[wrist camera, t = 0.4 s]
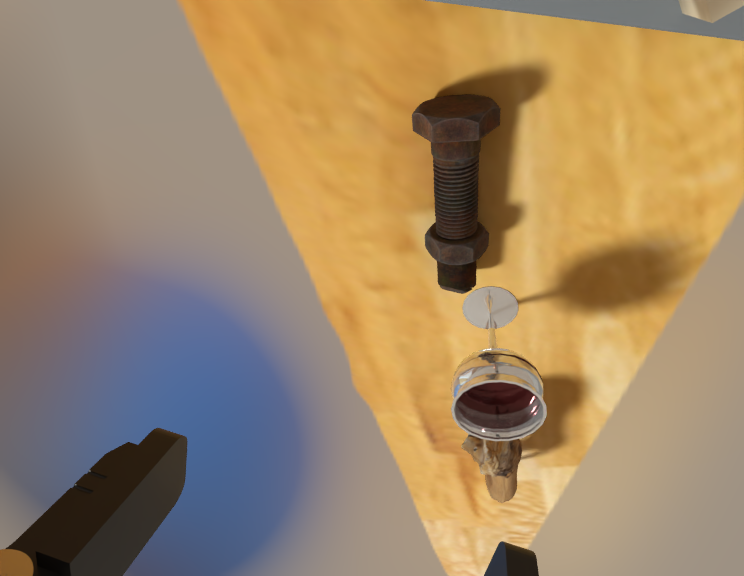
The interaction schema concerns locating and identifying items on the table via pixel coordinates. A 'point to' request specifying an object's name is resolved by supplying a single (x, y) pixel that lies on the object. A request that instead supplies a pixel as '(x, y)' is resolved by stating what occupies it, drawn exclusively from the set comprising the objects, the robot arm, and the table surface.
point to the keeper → (709, 8)
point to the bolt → (456, 183)
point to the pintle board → (623, 14)
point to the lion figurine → (496, 464)
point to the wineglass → (496, 377)
